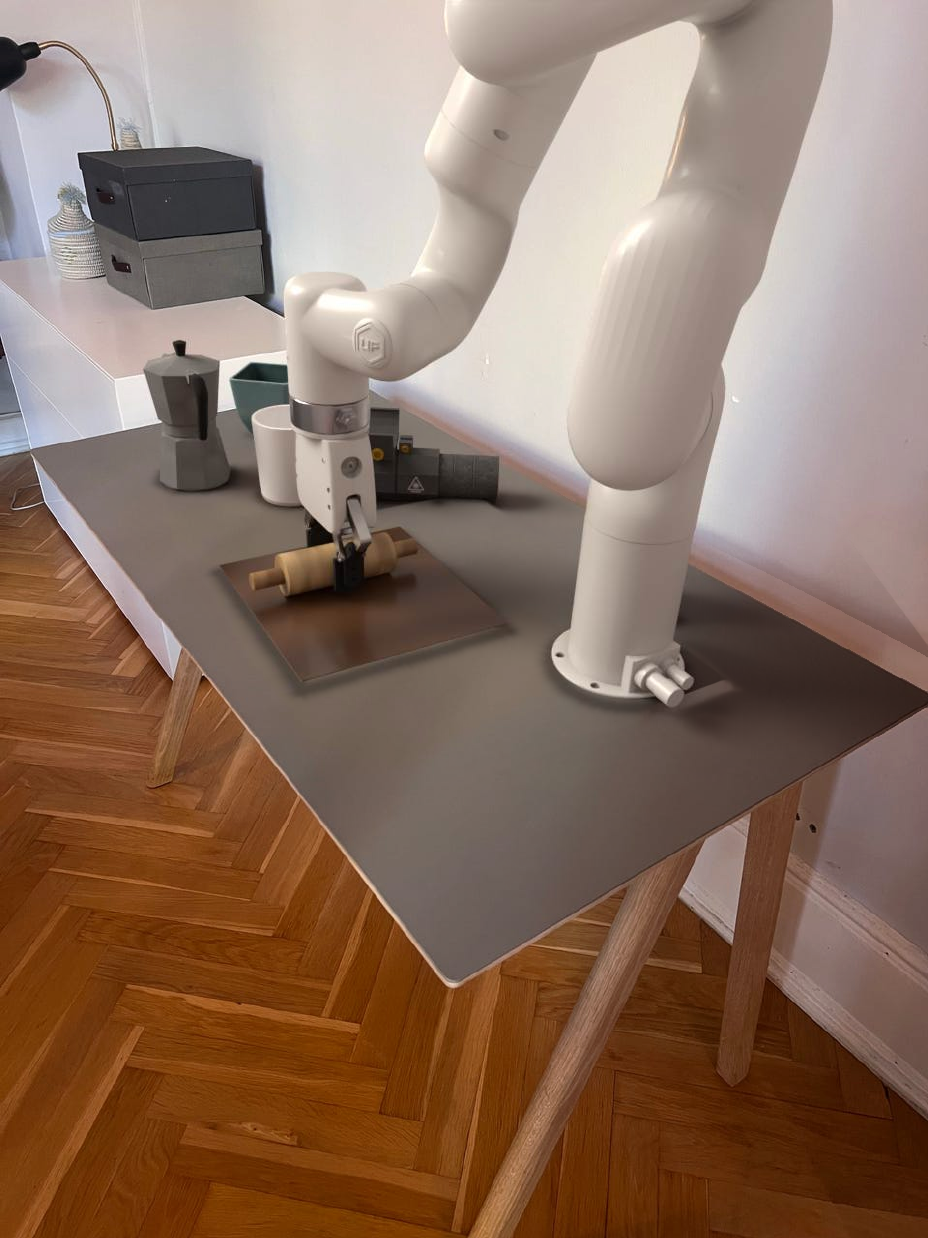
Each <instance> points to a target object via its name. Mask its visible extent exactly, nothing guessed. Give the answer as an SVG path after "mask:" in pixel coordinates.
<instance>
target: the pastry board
mask: <svg viewBox="0 0 928 1238" xmlns="http://www.w3.org/2000/svg"><path fill="white" fill-rule="evenodd" d="M381 532H386V533H387V534H388V535H389V536H390V537H391V539H392V541H393V542H397V541H402V540H406V539H411V538H413V537H412V535H410V534H409V533H408V532H407V531H406V530H405V529H403V527H401V526H396V527H392V528H391V527H390V528H386V529H381V530H378V531H377V530H376V531H371V532H370V535H372V534H377V533H381ZM348 539H353V536H349V537H344V538H342V540H348ZM415 541H416V543H417V546H418V552H417V554H415V555H410V556H406V557H402V558H397V565H396V569H395V570H394V571H393V572H390V573H386V574H381V575H377V576H373V577H369V578H364V584H365V585H364V587H363V588H362V589H359V590H355V591H351V592H347V593H342V594H337V593H336V592H335V591H334V586H330V587H326V588H321V589H317V590H313V591H309V592H304V593H300V594H296V595H291V596H285V595H284V594H283V592H282V591H281V589H280V587H279V585H278V586H274V587H269V588H265V589H260V590H256V591H253V590H252V588H251V586H250V582H249V574H250V573H254V572H259V571H264V570H268V569H273V568H275V557H276V555H277V554H282V553H286V552H291V551H296V550H301V549H305V548H307V545H306V546H303V547H297V548H293V549H289V550H284V551H279V552H275V553H270V554H265V555H260V556H255V557H251V558H246V559H242V560H237V561H232V562H228V563H223V564H219V565H218V566H219V568H220V570H222V572H223V573H224V575H225V576H226V578H227V579H228V580H229V582H230V584H231V585H232V586H233V588H234V589H235V591H236V592H237V593H238V595H239V596H240V598H241V599H242V600H243V602H244V603H245V605H246V606H247V607H248V609H249V610H250V612H251V613H252V614H253V616H254V618H255V619H256V620H257V622H258V623H259V625H260V626H261V628H262V629H263V630H264V632H265V633H266V634H267V636H268V637H269V639H270V640H271V641H272V643H273V644H274V646H275V647H276V649H277V650H278V652H279V653H280V654H281V656H282V657H283V659H284V660H285V661H286V663H287V664H288V665H289V667H290V668H291V670H292V671H293V672H294V674H295V675H296V677H297V678H298V680H299V681H300V682H301V683H303V682H306V681H309V680H313V679H317V678H320V677H323V676H327V675H331V674H334V673H338V672H342V671H346V670H350V669H352V668H355V667H359V666H363V665H366V664H370V663H373V662H378V661H380V660H384V659H387V658H390V657H394V656H399V655H401V654H405V653H409V652H412V651H416V650H419V649H422V648H426V647H430V646H433V645H436V644H440V643H444V642H448V641H451V640H455V639H458V638H462V637H465V636H469V635H472V634H476V633H478V632H483V631H487V630H490V629H494V628H497V627H501V626H504V625H508V622H507V621H506V620H505V619H504V618H503V617H502V616H500V614H498V613H497V612H496V611H495V610H494V609H493V608H492V607H490V606H489V604H487V603H486V602H485V601H483V600H482V598H480V597H479V595H477V594H476V593H475V592H474V591H472V589H470V588H469V587H468V586H467V585H466V584H465V583H464V582H463V581H461V580H460V579H459V578H458V577H457V576H456V575H455V574H453V572H451V571H450V570H449V569H448V568H447V567H446V566H444V565H443V564H442V563H441V562H440V561H439V560H438V559H437V558H436V557H435V556H433V554H431V553H430V552H429V551H428V550H427V549H426V548H425V547H423V546H422V545H421V544H420V543H419V542H418V541H417V540H416V539H415Z"/></svg>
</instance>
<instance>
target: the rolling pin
mask: <svg viewBox="0 0 928 1238" xmlns="http://www.w3.org/2000/svg"><path fill="white" fill-rule="evenodd" d="M371 538H372V543H371V544H370V546H369V547H368V548H367V551H366V556H365V557H364V578H369V577H373V576H377V575H381V574H386V573H390V572H393V571H394V570H395V569H396V565H397V558H402V557H406V556H410V555H415V554H417V552H418V546H417V543H416V541H417V540H416V539H415V538H414V537H412V538H411V539H406V540H402V541H397V542H393V541H392V539H391V537H390V536H389V535H388V534H387V533H386V532H381V533H377V534H372V535H371ZM415 540H416V541H415ZM348 542H352V539H348V540H343V545H344V547H345V546H346V544H347V543H348ZM333 558H337V556H336V551H335V546H334V543H329V544H324V545H320V546H315V547H310V548H305V549H301V550H296V551H291V552H286V553H282V554H277V555H276V557H275V568H273V569H268V570H264V571H259V572H254V573H250V574H249V582H250V586H251V588H252V590H253V591H256V590H260V589H265V588H269V587H274V586H278V585H279V587H280V589H281V591H282V592H283V594H284V595H285V596H291V595H296V594H300V593H304V592H309V591H313V590H317V589H321V588H326V587H330V586H334V576H333Z"/></svg>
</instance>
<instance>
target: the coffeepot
mask: <svg viewBox="0 0 928 1238" xmlns="http://www.w3.org/2000/svg"><path fill="white" fill-rule="evenodd" d="M172 346H173V350H174V352H172V353H163V354H162V355H161V357H156V358H152V359H148V360H147V361H146V363H145V364H144V367H143V369H142V371H143V374H144V377H145V380H146V384H147V387H148V390H149V391H148V392H149V394H150V398H151V401H152V405H153V408H154V410H155V414H156V418H157V420H159V421H161V428H162V432H161V439H160V440H161V441H160V442H161V443H160V468H159V482H160V483H162V484H163V485H164V486H166V487H168V488H169V489H172V490H175V491H182V492H200V491H207V490H211V489H215V488H218V487H221V486H223V485H224V484H225V483H227V482H228V481H229V479H230V473H231V468H230V464H229V461H228V458H227V453H226V449H225V445H224V443H223V438H222V435H221V433H220V429H219V428H218V426H217V420H216V418H217V416H218V409H219V389H220V388H219V387H220V366H221V364H220V363H221V360H219V359H216V358H212V357H209V356H206V355H203V354H193V353H192V354H189V353H186V352H187V350H186V349H187V341H186V340H181V339H176V340H173V341H172Z"/></svg>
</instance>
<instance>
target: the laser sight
mask: <svg viewBox="0 0 928 1238" xmlns="http://www.w3.org/2000/svg"><path fill="white" fill-rule="evenodd" d="M400 409H401V408H399V407H398V408H397V407H379V406H369V421H370V427H369V429H368V432H367V433H368V435H369V440H370V446H371V452H372V458H373V467H374V478H375V493H376V500H395V501H411V502H412V501H415V502H416V501H417V502H426V501H430V500H436V499H439V498H460V499H461V498H464V499H467V498H468V499H481V500H493V501H497V500H498V493H499V476H500V475H499V474H500V455H483V454H482V455H481V454H480V455H479V454H460V453H441V449H440V448H433V447H414V435H411V434H409V435H408V434H400V414H401V413H400Z"/></svg>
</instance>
